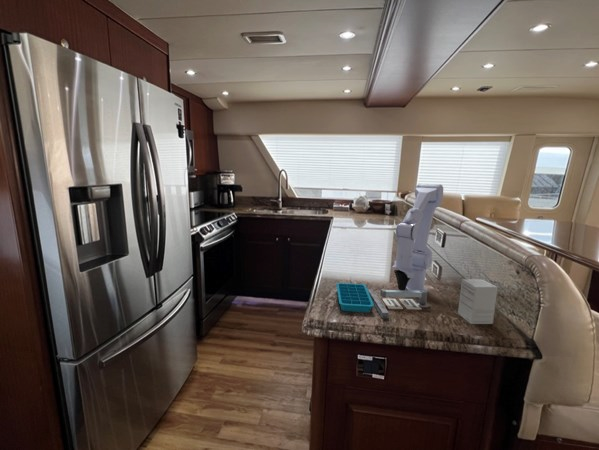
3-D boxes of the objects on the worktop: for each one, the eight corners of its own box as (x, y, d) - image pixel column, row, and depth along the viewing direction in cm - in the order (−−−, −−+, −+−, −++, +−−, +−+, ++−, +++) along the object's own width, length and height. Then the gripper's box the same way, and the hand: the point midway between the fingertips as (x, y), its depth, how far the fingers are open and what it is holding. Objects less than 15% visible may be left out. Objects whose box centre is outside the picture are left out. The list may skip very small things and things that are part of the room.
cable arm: (424, 301, 103) (425, 289, 103) (427, 304, 101) (428, 292, 100) (379, 300, 103) (380, 288, 102) (381, 303, 100) (382, 291, 100)
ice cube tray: (339, 312, 95) (339, 304, 94) (335, 289, 115) (336, 282, 114) (373, 314, 94) (374, 306, 94) (364, 291, 114) (365, 284, 113)
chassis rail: (366, 293, 111) (367, 288, 110) (371, 293, 111) (372, 288, 110) (382, 318, 91) (382, 312, 91) (388, 318, 91) (388, 312, 91)
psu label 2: (399, 299, 106) (399, 298, 106) (412, 299, 106) (412, 298, 106) (407, 309, 98) (407, 308, 98) (421, 309, 98) (421, 308, 98)
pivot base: (412, 301, 105) (412, 300, 104) (425, 301, 105) (425, 301, 105) (418, 307, 100) (418, 306, 100) (432, 307, 100) (432, 307, 100)
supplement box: (477, 313, 96) (482, 278, 94) (493, 324, 89) (498, 287, 87) (456, 313, 96) (461, 278, 94) (470, 324, 89) (475, 286, 87)
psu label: (382, 299, 106) (382, 298, 106) (395, 299, 106) (395, 298, 106) (388, 308, 98) (389, 307, 98) (403, 309, 98) (403, 308, 98)
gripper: (387, 249, 111) (385, 282, 113) (401, 260, 97) (397, 297, 99) (405, 250, 111) (402, 282, 114) (421, 260, 97) (417, 297, 99)
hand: (401, 289), depth 106 cm, fingers closed
